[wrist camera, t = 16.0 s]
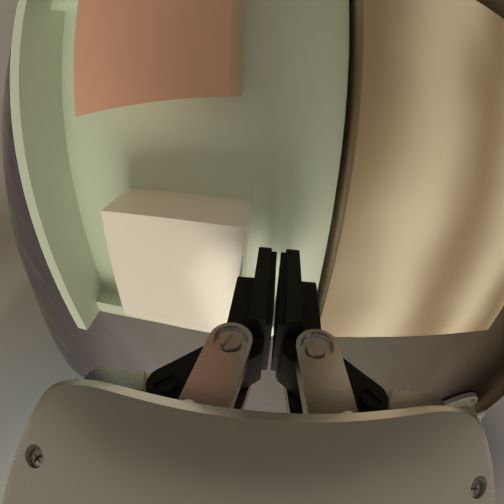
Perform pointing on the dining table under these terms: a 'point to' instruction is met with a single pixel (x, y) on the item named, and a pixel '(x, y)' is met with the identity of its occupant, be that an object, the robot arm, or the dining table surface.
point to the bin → (183, 142)
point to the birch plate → (418, 173)
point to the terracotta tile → (155, 51)
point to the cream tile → (177, 254)
